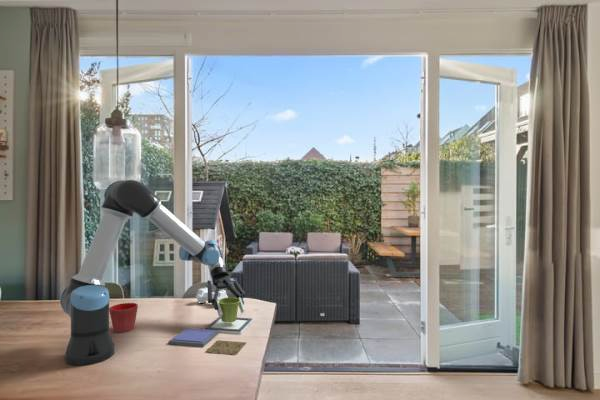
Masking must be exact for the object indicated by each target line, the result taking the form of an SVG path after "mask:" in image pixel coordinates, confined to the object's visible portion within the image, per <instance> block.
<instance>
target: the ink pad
mask: <svg viewBox="0 0 600 400" xmlns="http://www.w3.org/2000/svg"><path fill="white" fill-rule="evenodd" d="M219 334H220V332H219V330H206V329H205V328H193V327H192V328H191V327H187V328H185V329H184V330H182V331H181V332H179V333H178V334H176V335H175V336H174V337H172V338H171V339H169V340H168V345H174V344H176V345H177V346H187V345H188V346H189V347H200V348H204V347H205V346H206V345H208V344H209V343H210V342H211V341H212V340H213V339H214V338H216V337H217V335H219Z"/></svg>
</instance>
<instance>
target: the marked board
mask: <svg viewBox="0 0 600 400" xmlns="http://www.w3.org/2000/svg"><path fill="white" fill-rule="evenodd" d="M253 322H254V319H253V318H249V317H237V318H236V321H235V322H231V323H229V322H222V318H219V316H218V317H217V318H215V319H214V320H213V321H212V322H211V323H209V324H208V325H207V326H205V328H204V329H206V330H219V333H220V332H221V334H222V333H223V334H234V335H235V334H236V335H242V333H243V332H244V331H245V330H246V329H247V328H249V326H250V325H251V324H252V323H253Z"/></svg>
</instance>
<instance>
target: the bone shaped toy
mask: <svg viewBox="0 0 600 400" xmlns="http://www.w3.org/2000/svg"><path fill="white" fill-rule="evenodd" d="M214 294H215V291H214V292H213V291H212V299H213V298H214ZM223 298H229V296H228V295H227V291H226V290H224V289H220V290H219V292H218V296H217V300H216V301H218V300H220V299H223ZM195 299H196V300H197V302H200V303H203V304H204V303H207V302H206V301H208V288H207V286H206V287H203V288H199V289H198V290H197V293H196V295H195Z"/></svg>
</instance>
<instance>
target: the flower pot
mask: <svg viewBox="0 0 600 400" xmlns="http://www.w3.org/2000/svg"><path fill="white" fill-rule="evenodd" d="M138 307H139V305H138V303H135V302H124V303H117V304H114V305H112V306H109V317H110V320H111V324H112V328H113V331H114V332H115V333H125V332H130V331H132V330H134V328H135V326H136V325H135V324H136V320H137V319H136V318H137V315H138Z"/></svg>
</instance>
